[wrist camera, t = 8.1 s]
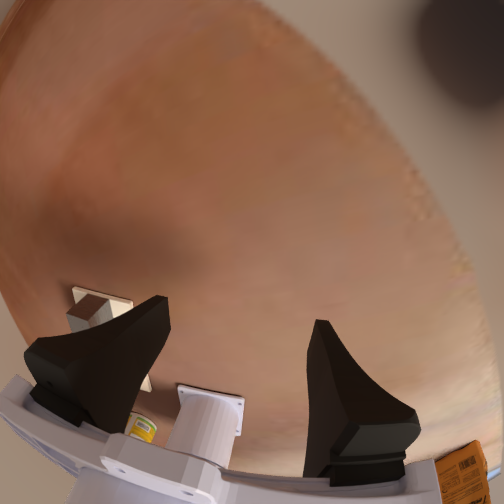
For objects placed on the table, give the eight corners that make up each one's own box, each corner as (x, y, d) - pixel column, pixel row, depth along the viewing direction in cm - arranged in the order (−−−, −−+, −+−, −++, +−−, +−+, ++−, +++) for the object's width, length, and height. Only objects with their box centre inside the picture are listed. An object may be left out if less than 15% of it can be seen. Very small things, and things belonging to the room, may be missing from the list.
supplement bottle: (133, 425, 37) (112, 467, 28) (122, 407, 35) (97, 452, 26) (161, 433, 36) (141, 478, 27) (151, 416, 34) (128, 465, 25)
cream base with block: (151, 389, 31) (138, 415, 27) (102, 371, 32) (86, 394, 27) (132, 300, 25) (108, 327, 21) (75, 286, 26) (49, 307, 22)
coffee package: (479, 447, 33) (496, 516, 13) (433, 471, 37) (444, 542, 17) (481, 434, 30) (503, 514, 10) (430, 462, 34) (442, 544, 14)
